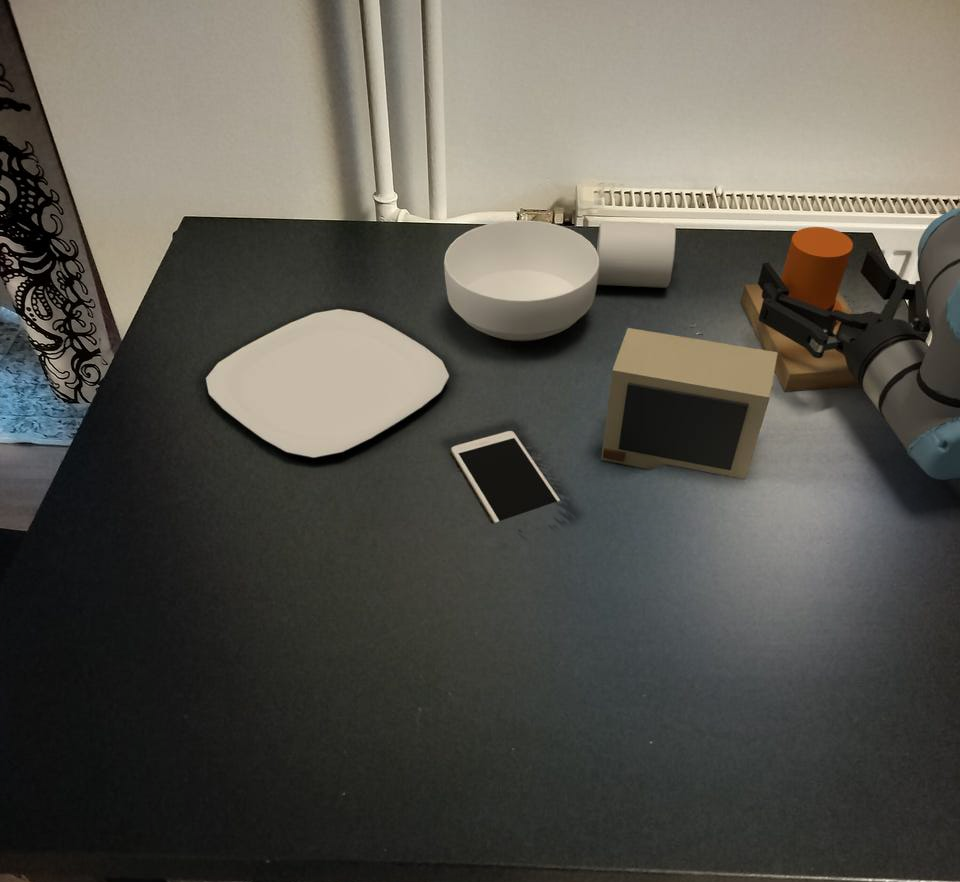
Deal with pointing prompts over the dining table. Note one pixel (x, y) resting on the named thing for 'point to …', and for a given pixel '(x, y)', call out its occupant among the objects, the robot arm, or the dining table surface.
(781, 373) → the brown wooden board
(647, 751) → the dining table surface
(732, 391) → the television
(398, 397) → the plate
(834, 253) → the hat
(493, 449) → the cell phone
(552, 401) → the dining table surface
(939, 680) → the dining table surface
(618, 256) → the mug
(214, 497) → the dining table surface
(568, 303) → the bowl
